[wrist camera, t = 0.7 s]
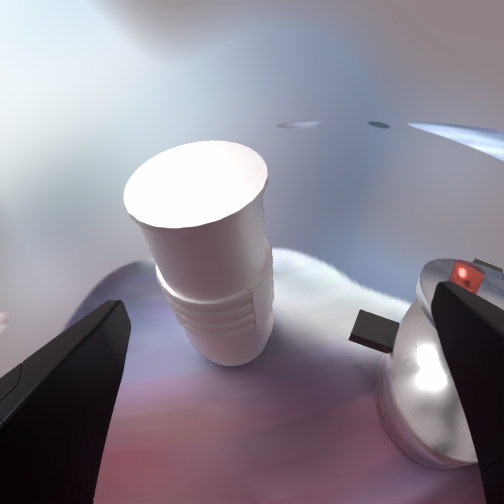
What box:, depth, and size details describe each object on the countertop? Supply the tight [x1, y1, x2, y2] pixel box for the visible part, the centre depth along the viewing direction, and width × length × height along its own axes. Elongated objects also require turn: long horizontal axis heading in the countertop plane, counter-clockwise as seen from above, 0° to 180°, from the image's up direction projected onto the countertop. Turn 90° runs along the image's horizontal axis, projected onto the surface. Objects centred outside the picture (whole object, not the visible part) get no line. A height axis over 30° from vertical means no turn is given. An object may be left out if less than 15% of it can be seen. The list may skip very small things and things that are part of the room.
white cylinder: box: [124, 141, 274, 366], centre depth 20 cm, size 7×7×15 cm
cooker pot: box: [349, 259, 503, 469], centre depth 19 cm, size 16×20×5 cm
